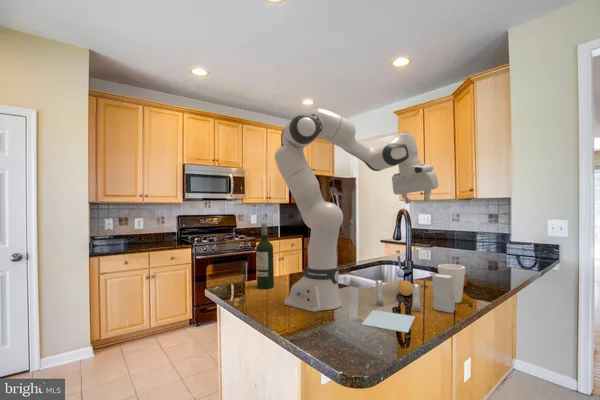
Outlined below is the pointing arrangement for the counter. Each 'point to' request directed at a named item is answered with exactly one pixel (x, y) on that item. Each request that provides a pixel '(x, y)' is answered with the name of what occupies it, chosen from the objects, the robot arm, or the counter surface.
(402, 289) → the ball
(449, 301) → the skincare box
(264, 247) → the wine bottle
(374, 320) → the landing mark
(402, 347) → the counter surface
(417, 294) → the right post
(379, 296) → the left post
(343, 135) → the robot arm
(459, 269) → the foam cup
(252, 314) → the counter surface
